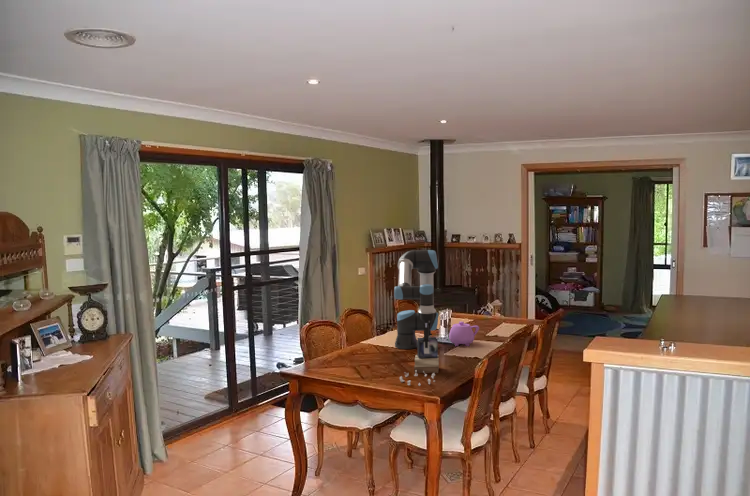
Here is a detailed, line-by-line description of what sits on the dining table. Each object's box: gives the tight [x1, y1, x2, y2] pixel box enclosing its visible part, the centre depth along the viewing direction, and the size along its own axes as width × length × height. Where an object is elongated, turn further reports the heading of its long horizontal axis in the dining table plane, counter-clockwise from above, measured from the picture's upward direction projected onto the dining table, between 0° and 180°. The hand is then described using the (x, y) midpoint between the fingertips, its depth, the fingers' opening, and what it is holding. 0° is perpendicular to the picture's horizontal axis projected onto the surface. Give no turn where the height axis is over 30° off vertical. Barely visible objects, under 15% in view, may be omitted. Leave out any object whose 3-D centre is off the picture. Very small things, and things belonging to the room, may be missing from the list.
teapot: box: [448, 321, 480, 347], centre depth 383 cm, size 20×20×15 cm
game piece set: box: [399, 370, 436, 387], centre depth 304 cm, size 19×20×4 cm
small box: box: [416, 336, 439, 359], centre depth 322 cm, size 11×6×10 cm, turn 96°
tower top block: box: [414, 354, 440, 368], centre depth 322 cm, size 10×13×4 cm
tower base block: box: [413, 365, 440, 374], centre depth 323 cm, size 10×13×4 cm
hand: (427, 350), depth 322 cm, fingers open, 13 cm apart
